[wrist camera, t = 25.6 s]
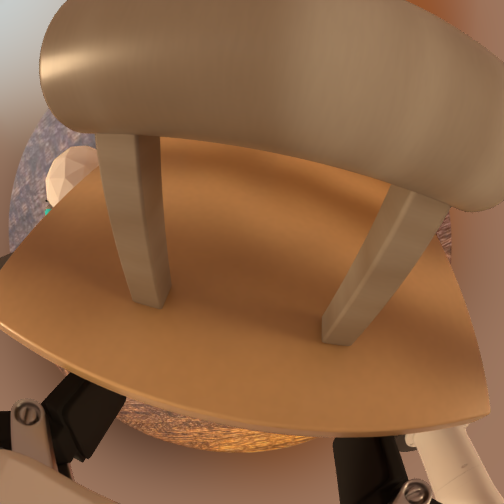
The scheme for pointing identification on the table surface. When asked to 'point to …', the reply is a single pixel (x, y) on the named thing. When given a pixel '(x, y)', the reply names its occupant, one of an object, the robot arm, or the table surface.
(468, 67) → the lid
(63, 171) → the perfume bottle
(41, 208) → the table surface
